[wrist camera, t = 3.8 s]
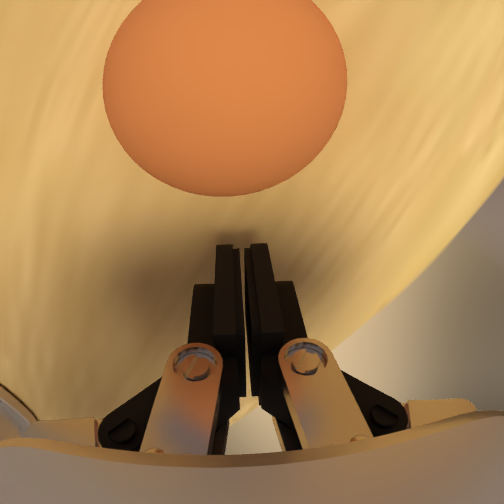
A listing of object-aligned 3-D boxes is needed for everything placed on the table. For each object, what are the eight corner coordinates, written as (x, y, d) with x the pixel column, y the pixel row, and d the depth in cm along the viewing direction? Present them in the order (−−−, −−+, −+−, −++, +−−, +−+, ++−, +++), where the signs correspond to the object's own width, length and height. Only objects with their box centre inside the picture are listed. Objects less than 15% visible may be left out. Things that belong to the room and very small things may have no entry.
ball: (310, 155, 11) (375, 236, 6) (148, 164, 10) (90, 253, 6) (311, -2, 8) (390, -51, 3) (134, 8, 7) (51, -33, 3)
